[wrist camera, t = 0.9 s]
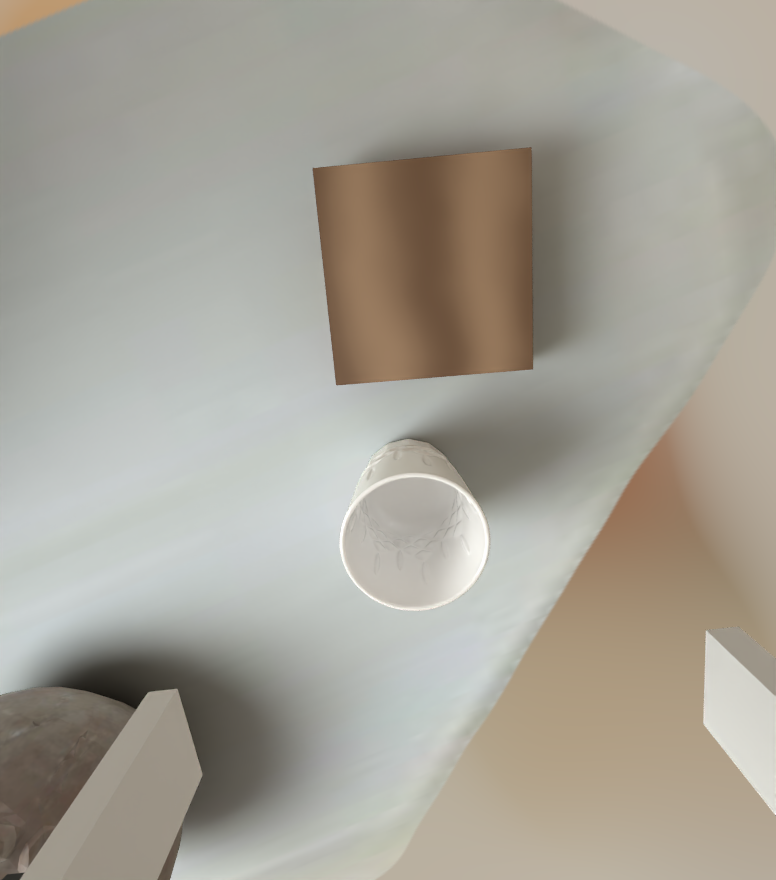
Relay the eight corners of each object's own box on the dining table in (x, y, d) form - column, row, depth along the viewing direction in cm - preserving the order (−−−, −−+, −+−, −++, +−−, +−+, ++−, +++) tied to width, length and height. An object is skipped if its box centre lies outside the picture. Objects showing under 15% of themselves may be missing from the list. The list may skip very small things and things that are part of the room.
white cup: (416, 408, 32) (427, 441, 22) (483, 489, 33) (520, 554, 23) (333, 475, 33) (308, 535, 23) (400, 551, 34) (404, 637, 25)
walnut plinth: (343, 378, 31) (336, 385, 27) (323, 190, 29) (312, 168, 25) (515, 364, 31) (532, 369, 27) (512, 172, 28) (531, 147, 24)
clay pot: (143, 609, 36) (-28, 800, 21) (254, 800, 40) (176, 1067, 26) (-77, 688, 38) (-372, 912, 23) (52, 862, 42) (-127, 1142, 28)
